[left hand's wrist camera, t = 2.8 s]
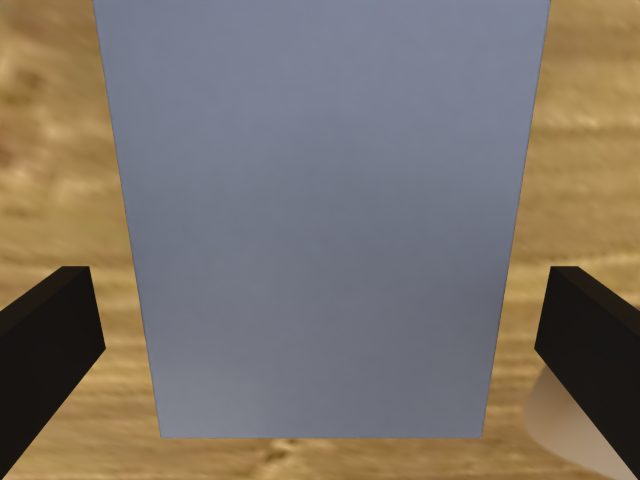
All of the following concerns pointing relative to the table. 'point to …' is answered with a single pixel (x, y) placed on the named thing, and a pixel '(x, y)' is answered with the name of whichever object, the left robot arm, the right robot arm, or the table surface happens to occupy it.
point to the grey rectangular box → (321, 206)
